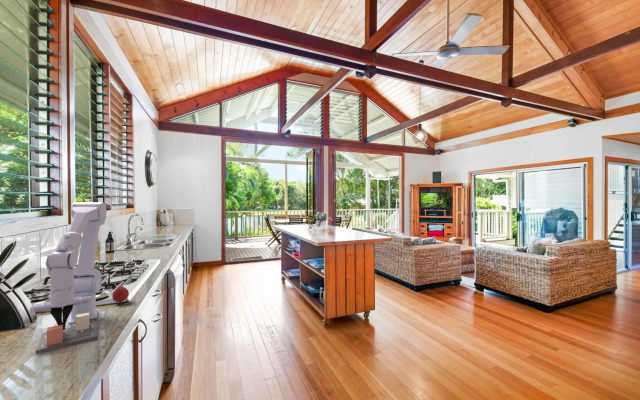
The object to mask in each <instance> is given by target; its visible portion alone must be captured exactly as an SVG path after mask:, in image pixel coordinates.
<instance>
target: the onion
mask: <svg viewBox="0 0 640 400" xmlns="http://www.w3.org/2000/svg"><path fill="white" fill-rule="evenodd" d="M129 295H130V292H129V290H128V289H127V288H126V287H124V284H120V285H119V286H118V287H117V288H116V289H114V291H113V293H112V296H111V298H112V300H113V302H115V303H117V302H122V301H124V300H125V299H126V300H127V299H128V298H129ZM126 300H125V301H126ZM125 301H124V302H125Z"/></svg>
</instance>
